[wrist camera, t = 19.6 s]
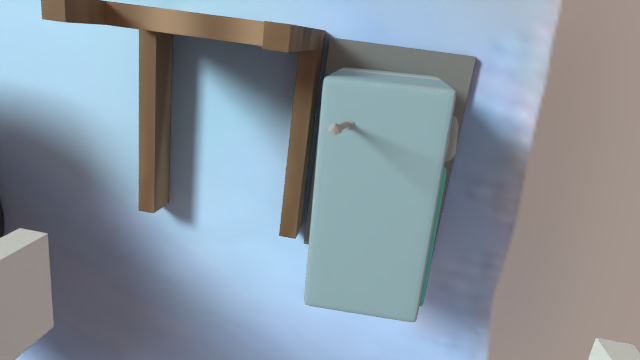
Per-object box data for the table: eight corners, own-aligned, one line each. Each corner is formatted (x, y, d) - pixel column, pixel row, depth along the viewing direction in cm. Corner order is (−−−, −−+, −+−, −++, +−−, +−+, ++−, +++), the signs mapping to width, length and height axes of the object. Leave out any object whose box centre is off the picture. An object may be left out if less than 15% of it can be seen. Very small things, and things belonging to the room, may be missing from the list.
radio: (421, 251, 42) (446, 422, 23) (325, 237, 43) (274, 390, 24) (451, 76, 37) (513, 112, 18) (342, 66, 38) (295, 89, 19)
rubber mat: (304, 240, 44) (303, 243, 44) (330, 37, 38) (329, 37, 38) (429, 263, 43) (429, 266, 42) (474, 56, 37) (476, 56, 37)
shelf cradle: (154, 199, 45) (56, 265, 32) (157, 8, 40) (40, -8, 27) (301, 225, 44) (262, 305, 30) (325, 30, 38) (290, 24, 25)
